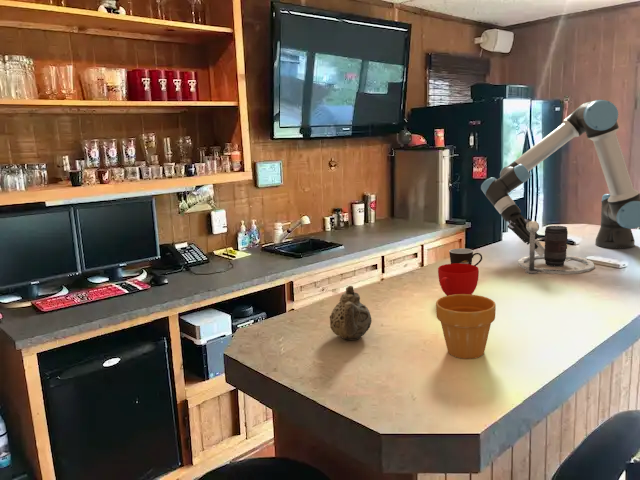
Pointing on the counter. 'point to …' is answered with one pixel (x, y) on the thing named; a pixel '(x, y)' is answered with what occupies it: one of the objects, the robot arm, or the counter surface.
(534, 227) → the metal stand with knob
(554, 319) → the counter surface
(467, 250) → the coffee mug
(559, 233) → the camera lens
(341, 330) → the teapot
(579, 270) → the grey flat ring
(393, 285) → the counter surface
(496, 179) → the robot arm
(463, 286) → the ceramic cup
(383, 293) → the counter surface
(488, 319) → the flower pot
